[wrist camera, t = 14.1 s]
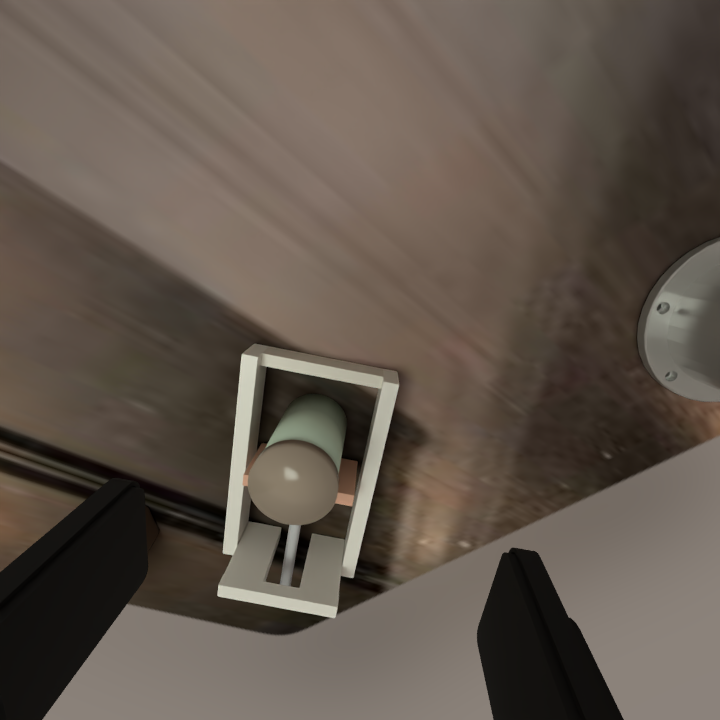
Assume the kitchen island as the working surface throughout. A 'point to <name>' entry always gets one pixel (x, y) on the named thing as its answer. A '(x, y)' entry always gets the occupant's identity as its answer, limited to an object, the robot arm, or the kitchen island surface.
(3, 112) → the kitchen island surface
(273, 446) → the jar
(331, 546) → the frame
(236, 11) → the kitchen island surface
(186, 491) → the kitchen island surface
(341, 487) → the pusher
